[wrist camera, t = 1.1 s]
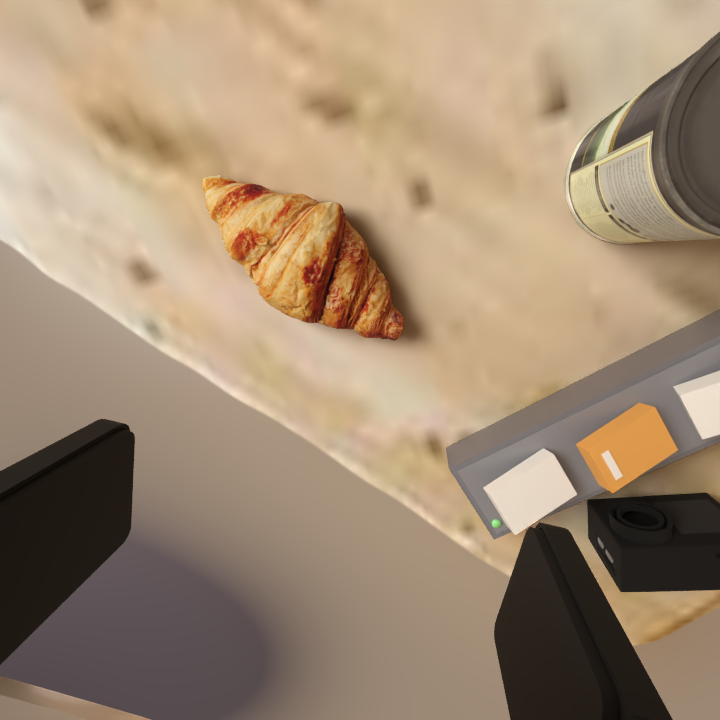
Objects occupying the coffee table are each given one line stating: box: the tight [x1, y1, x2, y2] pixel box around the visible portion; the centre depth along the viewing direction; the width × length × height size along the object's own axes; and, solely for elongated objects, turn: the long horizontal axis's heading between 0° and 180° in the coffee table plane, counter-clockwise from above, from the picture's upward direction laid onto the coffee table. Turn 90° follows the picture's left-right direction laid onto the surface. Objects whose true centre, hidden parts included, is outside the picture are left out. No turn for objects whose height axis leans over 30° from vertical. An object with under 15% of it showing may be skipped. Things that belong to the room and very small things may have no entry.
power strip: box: [446, 310, 720, 539], centre depth 35 cm, size 32×8×4 cm, turn 123°
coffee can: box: [565, 32, 720, 244], centre depth 26 cm, size 10×10×14 cm
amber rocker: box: [576, 403, 678, 493], centre depth 32 cm, size 6×4×2 cm, turn 122°
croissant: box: [203, 175, 404, 340], centre depth 35 cm, size 21×10×8 cm, turn 55°
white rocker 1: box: [483, 448, 577, 535], centre depth 34 cm, size 6×4×2 cm, turn 122°
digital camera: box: [587, 493, 720, 592], centre depth 36 cm, size 10×5×7 cm, turn 99°
